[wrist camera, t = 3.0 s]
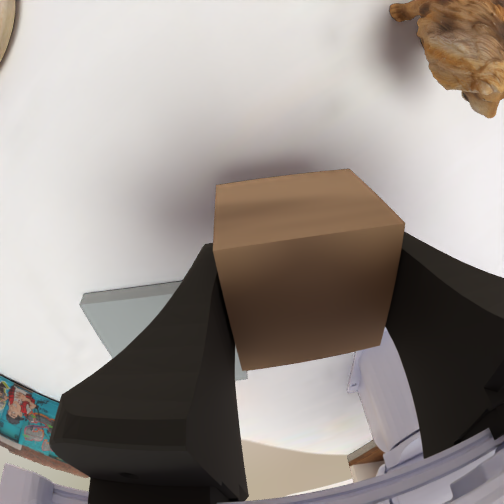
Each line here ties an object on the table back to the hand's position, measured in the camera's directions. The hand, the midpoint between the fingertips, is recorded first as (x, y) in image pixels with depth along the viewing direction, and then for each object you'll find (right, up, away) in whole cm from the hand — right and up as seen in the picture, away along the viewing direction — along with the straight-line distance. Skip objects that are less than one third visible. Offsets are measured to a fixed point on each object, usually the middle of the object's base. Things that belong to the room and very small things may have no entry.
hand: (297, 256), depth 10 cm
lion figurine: (+8, +13, -1) cm, 15 cm away
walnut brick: (0, +1, +1) cm, 2 cm away
